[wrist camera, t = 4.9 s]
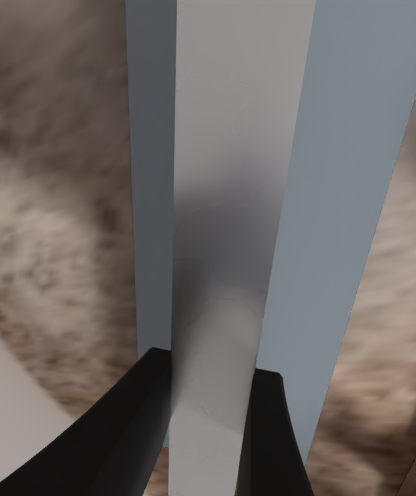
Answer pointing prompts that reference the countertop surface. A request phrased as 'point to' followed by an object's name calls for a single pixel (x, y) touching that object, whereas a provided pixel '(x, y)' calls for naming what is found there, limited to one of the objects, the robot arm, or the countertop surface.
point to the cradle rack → (409, 483)
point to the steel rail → (226, 218)
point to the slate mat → (297, 184)
